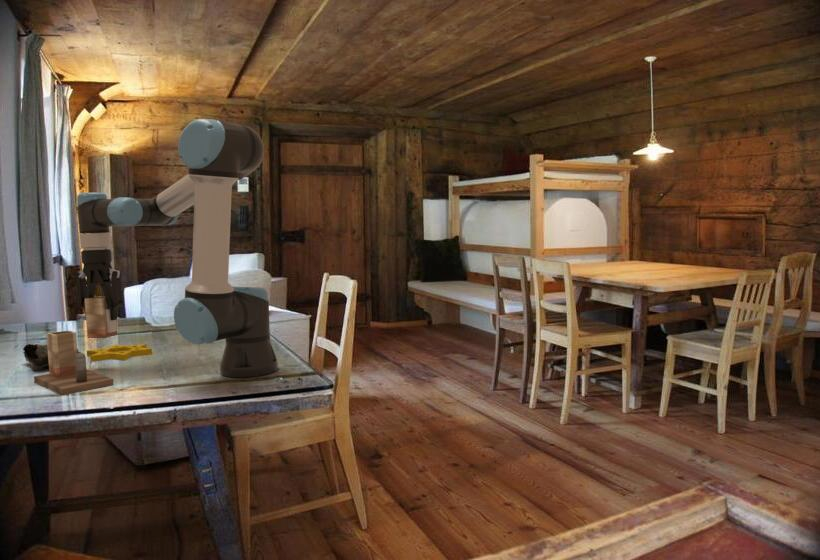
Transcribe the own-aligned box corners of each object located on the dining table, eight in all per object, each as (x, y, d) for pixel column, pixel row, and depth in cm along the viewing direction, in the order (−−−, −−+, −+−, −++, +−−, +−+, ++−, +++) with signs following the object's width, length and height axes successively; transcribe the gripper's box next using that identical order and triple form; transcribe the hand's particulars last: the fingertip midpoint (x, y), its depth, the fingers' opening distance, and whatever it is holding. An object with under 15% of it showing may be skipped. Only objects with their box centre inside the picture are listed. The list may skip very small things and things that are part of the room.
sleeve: (117, 334, 180) (114, 296, 179) (104, 338, 175) (101, 298, 174) (101, 334, 181) (98, 296, 180) (87, 338, 176) (84, 298, 175)
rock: (34, 386, 176) (93, 370, 185) (27, 354, 173) (87, 340, 182) (25, 363, 190) (80, 350, 198) (18, 334, 187) (74, 321, 195)
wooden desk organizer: (113, 384, 160) (110, 335, 159) (62, 395, 152) (58, 343, 150) (83, 373, 174) (79, 328, 173) (34, 382, 165) (30, 334, 164)
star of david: (155, 358, 194) (154, 350, 194) (92, 366, 185) (91, 358, 185) (143, 348, 211) (143, 341, 211) (85, 355, 202) (85, 348, 202)
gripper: (133, 247, 177) (139, 329, 179) (77, 249, 182) (83, 329, 184) (115, 248, 170) (122, 334, 172) (57, 250, 174) (64, 334, 176)
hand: (102, 331), depth 178 cm, fingers closed on sleeve, 5 cm apart
